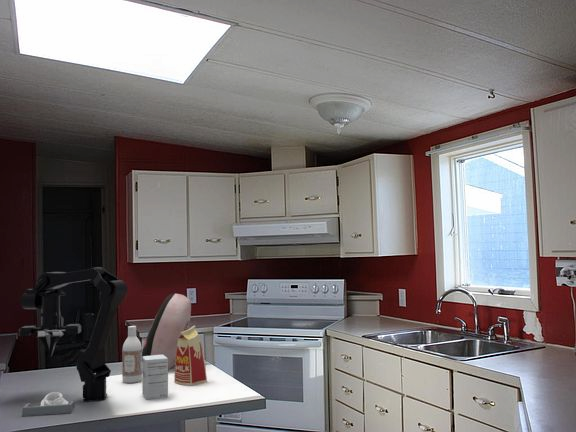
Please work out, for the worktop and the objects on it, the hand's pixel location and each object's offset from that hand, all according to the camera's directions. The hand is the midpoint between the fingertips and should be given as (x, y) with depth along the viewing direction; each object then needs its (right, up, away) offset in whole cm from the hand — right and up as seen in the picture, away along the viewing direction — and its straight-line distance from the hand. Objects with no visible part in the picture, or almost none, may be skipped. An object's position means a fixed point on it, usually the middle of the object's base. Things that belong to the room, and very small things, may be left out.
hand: (50, 356), depth 183 cm
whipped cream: (+8, -12, -15) cm, 21 cm away
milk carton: (+45, -13, +13) cm, 48 cm away
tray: (+9, -12, -21) cm, 25 cm away
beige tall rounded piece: (+30, -15, +40) cm, 53 cm away
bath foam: (+23, -14, +17) cm, 32 cm away
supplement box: (+36, -12, -4) cm, 38 cm away
